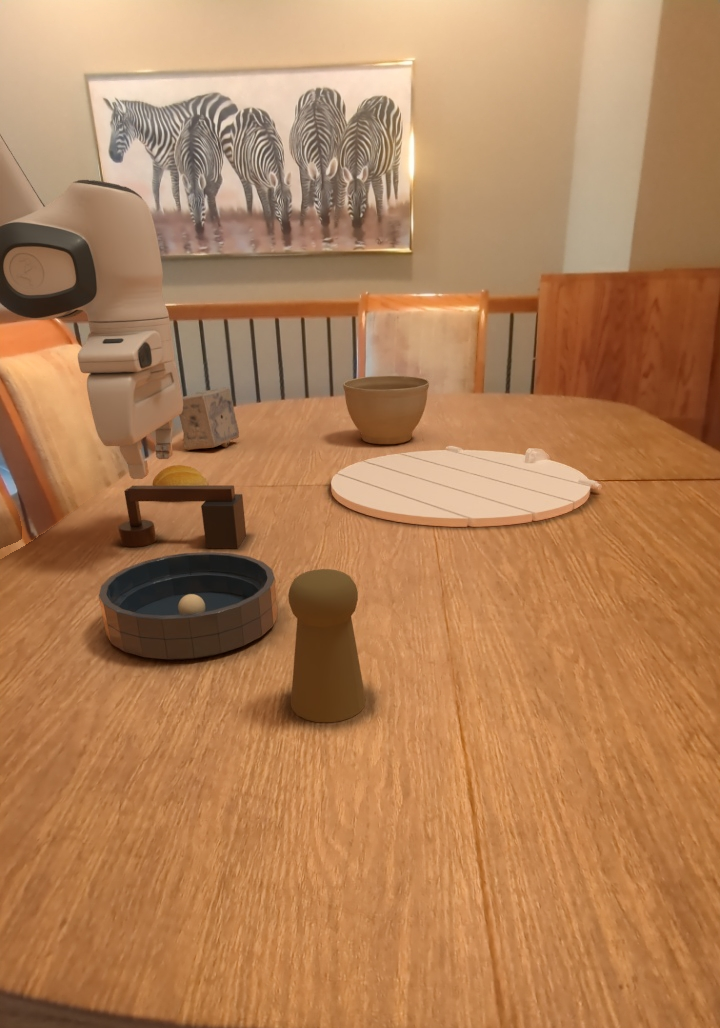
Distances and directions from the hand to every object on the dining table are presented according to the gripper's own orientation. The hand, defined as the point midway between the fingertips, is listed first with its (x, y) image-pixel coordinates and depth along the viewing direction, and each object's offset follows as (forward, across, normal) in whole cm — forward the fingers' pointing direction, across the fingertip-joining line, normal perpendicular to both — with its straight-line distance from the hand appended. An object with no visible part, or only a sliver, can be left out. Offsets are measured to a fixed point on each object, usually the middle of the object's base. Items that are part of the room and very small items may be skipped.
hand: (153, 467), depth 92 cm
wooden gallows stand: (+10, 0, +2) cm, 10 cm away
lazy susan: (+10, -26, +38) cm, 48 cm away
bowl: (+10, +24, +11) cm, 28 cm away
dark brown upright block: (+10, 0, +8) cm, 13 cm away
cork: (+10, +38, +26) cm, 47 cm away
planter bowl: (+10, -59, +25) cm, 65 cm away
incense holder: (+10, -54, -8) cm, 56 cm away
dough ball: (+8, +24, +11) cm, 27 cm away
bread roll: (+10, -22, -4) cm, 24 cm away
